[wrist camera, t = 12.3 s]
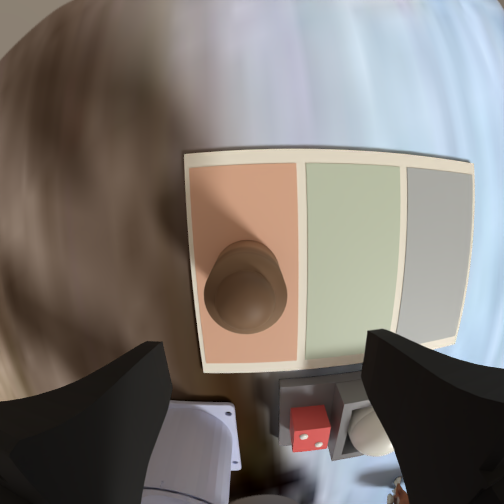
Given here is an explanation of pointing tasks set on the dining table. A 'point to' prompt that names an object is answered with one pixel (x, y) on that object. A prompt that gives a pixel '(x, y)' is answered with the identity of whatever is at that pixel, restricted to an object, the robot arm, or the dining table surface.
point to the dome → (368, 433)
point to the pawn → (245, 288)
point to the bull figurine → (398, 494)
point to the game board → (333, 249)
